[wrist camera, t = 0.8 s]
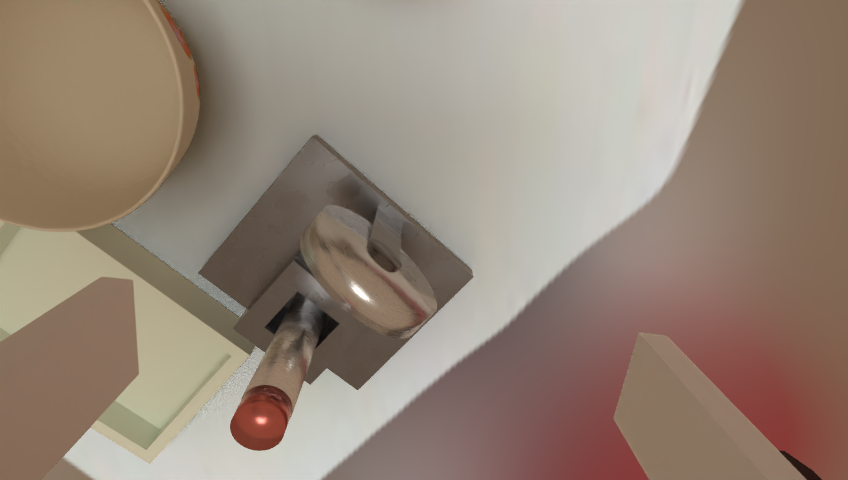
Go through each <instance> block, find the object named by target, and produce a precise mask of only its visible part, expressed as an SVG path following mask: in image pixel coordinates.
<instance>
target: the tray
mask: <svg viewBox="0 0 848 480" xmlns="http://www.w3.org/2000/svg"><path fill="white" fill-rule="evenodd" d="M100 277H112V278H121V279H131V280H133V287H134V302H135V318H136V334H137V350H138V365H139V375H138V376H137V377H136V378H135V379H134V380H133V381H132V382H131V383H130V384H129V386H128V387H127V388H126V389H125V390H124V391H123V392H122V393H121V394H120V395H119V396H118V397H117V399H116V400H115V401H114V402H113V403H112V404H111V405H110V406H109V407H108V408H107V409H106V411H105V412H104V413H103V414H102V415H101V416H100V417H99V418H98V419H97V420H96V421H95V423H94V424H93V425H92V426H91V428H92V429H94V430H96V431H97V432H99V433H100V434H102V435H104V436H105V437H107V438H109V439H110V440H112V441H114V442H115V443H117V444H118V445H120V446H122V447H123V448H125V449H127V450H128V451H130V452H132V453H133V454H135V455H136V456H138V457H140V458H141V459H143V460H145V461H146V462H148V463H149V464H150V463H151V462H152V461H153V460H154V459H155V458H156V457H157V456H158V454H159V453H160V452H161V451H162V450H163V449H164V448H165V447H166V446H167V445H168V444H169V442H170V441H171V440H172V439H173V438H174V437H175V436H176V435H177V434H178V433H179V432H180V431H181V429H182V428H183V427H184V426H185V425H186V424H187V423H188V422H189V421H190V420H191V419H192V418H193V416H194V415H195V414H196V413H197V412H198V411H199V410H200V409H201V408H202V407H203V406H204V405H205V403H206V402H207V401H208V400H209V399H210V398H211V397H212V396H213V395H214V394H215V393H216V391H217V390H218V389H219V388H220V387H221V386H222V385H223V384H224V383H225V382H226V381H227V380H228V378H229V377H230V376H231V375H232V374H233V373H234V372H235V371H236V370H237V369H238V368H239V367H240V365H241V364H242V363H243V362H244V361H245V360H246V359H247V358H248V357H249V356H250V354H251V352H252V351H253V349H254V347H255V345H254V344H253V343H252V342H250V341H249V340H247V339H246V338H245V337H243V336H242V335H240V334H239V333H238V332H236V331H235V330H233V328H234V326H235V325H236V323H237V322H238V320H239V319H240V318H239V317H238V316H236V315H235V314H234V313H232V312H231V311H230V310H228V309H227V308H225V307H224V306H223V305H221V304H220V303H219V302H217V301H216V300H214V299H213V298H212V297H210V296H209V295H208V294H206V293H205V292H203V291H202V290H201V289H199V288H198V287H197V286H195V285H194V284H192V283H191V282H190V281H188V280H187V279H186V278H184V277H183V276H181V275H180V274H179V273H177V272H176V271H175V270H173V269H172V268H171V267H169V266H168V265H166V264H165V263H164V262H162V261H161V260H160V259H158V258H157V257H155V256H154V255H153V254H151V253H150V252H149V251H147V250H146V249H144V248H143V247H142V246H140V245H139V244H138V243H136V242H135V241H133V240H132V239H131V238H129V237H128V236H127V235H125V234H124V233H122V232H121V231H120V230H118V229H117V228H116V227H114V226H113V225H111V224H110V223H109V224H106V225H103V226H100V227H96V228H92V229H87V230H80V231H72V232H50V231H39V230H32V229H28V228H23V227H19V226H15V225H12V224H8V223H5V222H2V221H0V342H1V341H2V340H4V339H5V338H7V337H9V336H10V335H12V334H13V333H15V332H16V331H18V330H19V329H21V328H22V327H24V326H26V325H27V324H29V323H30V322H32V321H33V320H35V319H36V318H38V317H40V316H41V315H43V314H44V313H46V312H47V311H49V310H50V309H52V308H53V307H55V306H57V305H58V304H60V303H61V302H63V301H64V300H66V299H67V298H69V297H71V296H72V295H74V294H75V293H77V292H78V291H80V290H81V289H83V288H84V287H86V286H88V285H89V284H91V283H92V282H94V281H95V280H97V279H98V278H100Z"/></svg>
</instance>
